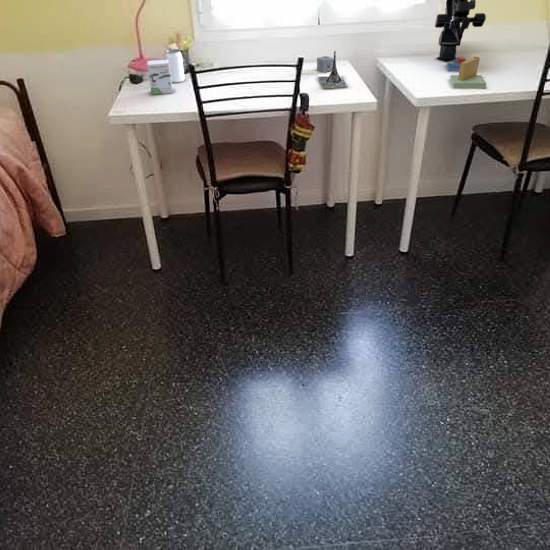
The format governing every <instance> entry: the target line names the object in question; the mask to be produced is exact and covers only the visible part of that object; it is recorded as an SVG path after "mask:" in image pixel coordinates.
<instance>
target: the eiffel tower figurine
mask: <svg viewBox="0 0 550 550" xmlns="http://www.w3.org/2000/svg"><path fill="white" fill-rule="evenodd" d="M336 53H337V51H336V50H334V51H333V58H334V59H333V68H332V71H330V74H329V76H318V77H317V78H318V80H319V82H320V83H321V86H322V88H323V89H335V88H336V89H337V88H344V87H348V84H347V83H346V81H345V80H344V78H343V77H342V76H340V75H339V72H338V69H337V58H336V57H337V55H336Z"/></svg>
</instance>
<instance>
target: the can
mask: <svg viewBox="0 0 550 550" xmlns="http://www.w3.org/2000/svg"><path fill="white" fill-rule="evenodd" d="M165 52H166V54H165V60H168V61H169V67H170V74H171V81H172V84H173V83H174V84H177V83H178V84H179V83H182V82H184V81H185V79H186V78H185V70H184V63H183V61H184V60H183V55H182V53H181V50H180V49H178V48H171V49H167V50H166V51H165Z"/></svg>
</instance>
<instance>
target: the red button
mask: <svg viewBox="0 0 550 550" xmlns="http://www.w3.org/2000/svg"><path fill="white" fill-rule="evenodd" d="M456 58H457V59H456V62H458V63H461V62H464V61H465V60H467V59H466V57H464V56H458V57H456Z"/></svg>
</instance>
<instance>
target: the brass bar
mask: <svg viewBox="0 0 550 550" xmlns="http://www.w3.org/2000/svg"><path fill="white" fill-rule="evenodd" d="M466 60H467V61H464V62H461V65H460V71H458V75H459V77H458V80H461V81H463V80H465V79H468V78H470V77H473V76H475V75H478V69H479V64H480V57H478V56H474V57H472V58H469V59H466Z"/></svg>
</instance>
